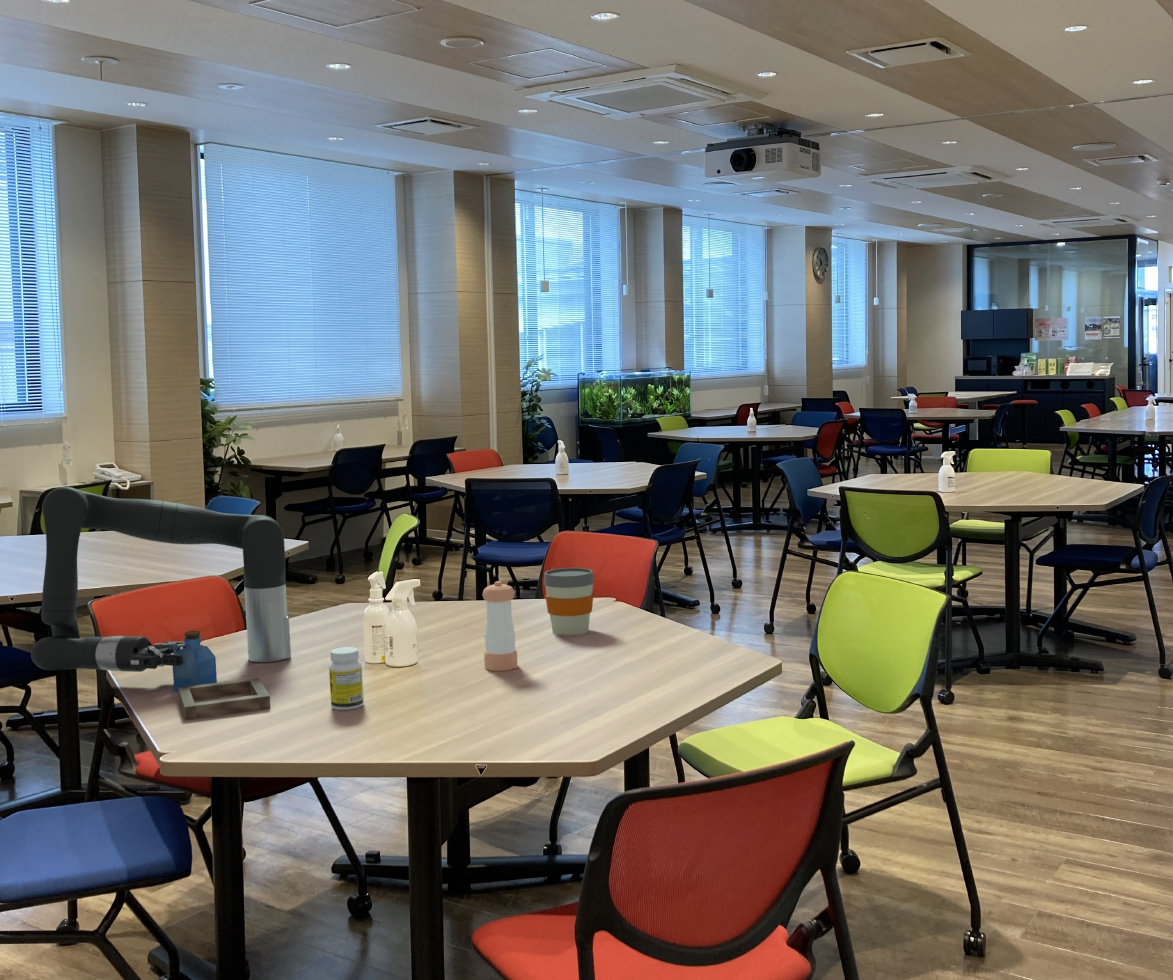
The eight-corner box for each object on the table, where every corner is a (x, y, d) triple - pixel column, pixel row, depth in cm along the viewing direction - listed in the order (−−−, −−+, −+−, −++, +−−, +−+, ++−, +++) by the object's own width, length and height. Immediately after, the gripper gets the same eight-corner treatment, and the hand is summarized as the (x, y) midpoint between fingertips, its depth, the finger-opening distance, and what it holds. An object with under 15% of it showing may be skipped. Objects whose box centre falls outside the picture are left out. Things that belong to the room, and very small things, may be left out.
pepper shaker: (477, 667, 260) (474, 582, 258) (501, 661, 265) (498, 577, 263) (500, 672, 255) (497, 585, 253) (524, 666, 260) (521, 580, 258)
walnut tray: (259, 689, 247) (258, 677, 247) (270, 708, 233) (269, 695, 232) (178, 699, 241) (178, 687, 241) (185, 719, 226) (184, 707, 226)
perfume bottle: (217, 684, 252) (213, 629, 250) (198, 692, 246) (195, 636, 245) (193, 683, 254) (189, 628, 252) (174, 690, 248) (170, 635, 247)
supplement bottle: (335, 701, 236) (332, 646, 235) (367, 701, 236) (364, 645, 234) (327, 711, 229) (324, 654, 228) (359, 710, 229) (357, 653, 228)
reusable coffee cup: (605, 628, 295) (603, 569, 294) (578, 639, 285) (576, 577, 283) (563, 624, 302) (561, 566, 300) (535, 634, 291) (533, 574, 290)
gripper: (102, 644, 245) (173, 645, 242) (141, 629, 259) (208, 630, 256) (105, 679, 246) (175, 681, 243) (144, 662, 260) (211, 664, 256)
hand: (192, 655), depth 249 cm, fingers open, 8 cm apart
